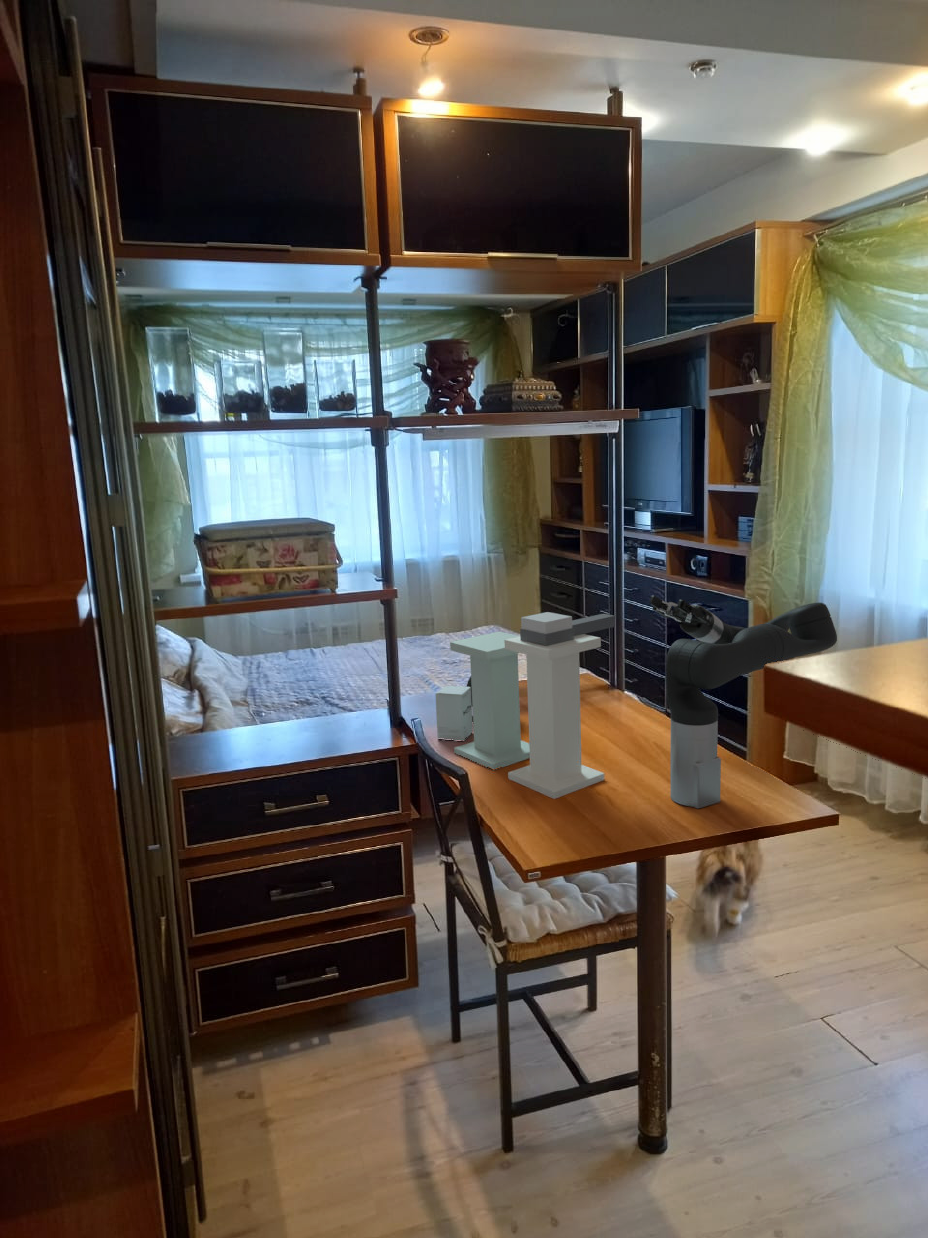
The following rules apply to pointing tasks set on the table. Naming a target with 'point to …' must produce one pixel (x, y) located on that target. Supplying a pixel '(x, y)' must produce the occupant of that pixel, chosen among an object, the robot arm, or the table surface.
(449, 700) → the supplement box
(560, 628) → the block
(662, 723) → the table surface
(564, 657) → the tall pedestal
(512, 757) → the low pedestal
